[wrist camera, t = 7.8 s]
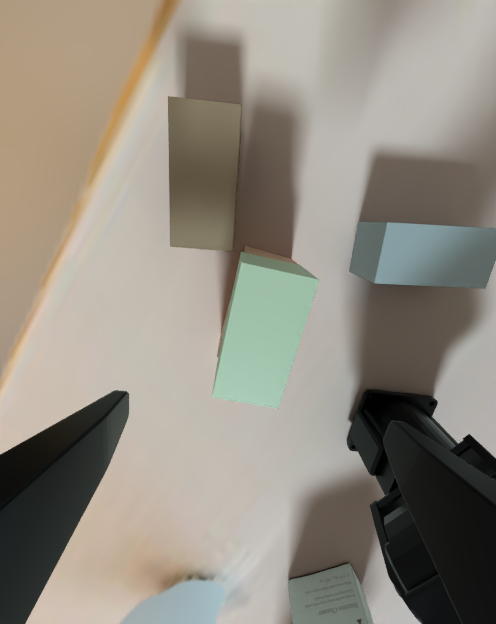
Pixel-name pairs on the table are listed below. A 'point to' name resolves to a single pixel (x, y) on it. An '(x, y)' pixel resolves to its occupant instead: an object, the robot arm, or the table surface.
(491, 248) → the slate brick
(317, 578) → the skincare box
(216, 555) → the table surface
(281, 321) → the sage brick
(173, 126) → the walnut brick
